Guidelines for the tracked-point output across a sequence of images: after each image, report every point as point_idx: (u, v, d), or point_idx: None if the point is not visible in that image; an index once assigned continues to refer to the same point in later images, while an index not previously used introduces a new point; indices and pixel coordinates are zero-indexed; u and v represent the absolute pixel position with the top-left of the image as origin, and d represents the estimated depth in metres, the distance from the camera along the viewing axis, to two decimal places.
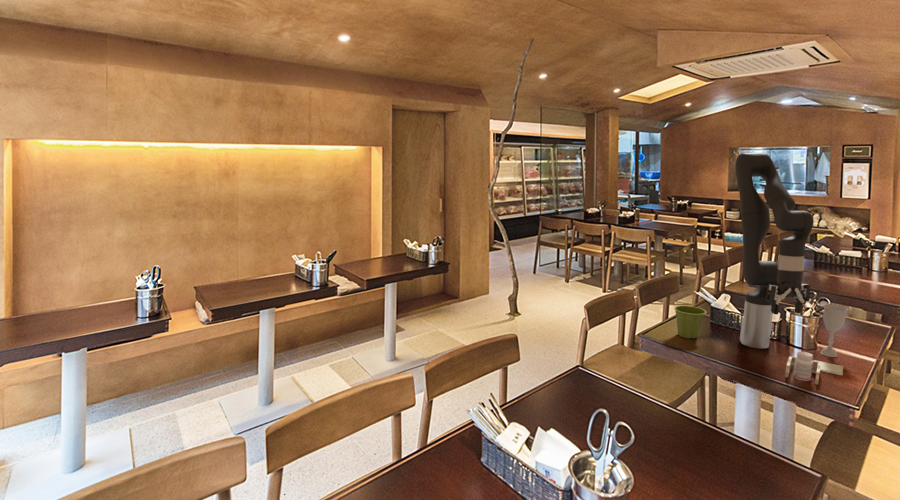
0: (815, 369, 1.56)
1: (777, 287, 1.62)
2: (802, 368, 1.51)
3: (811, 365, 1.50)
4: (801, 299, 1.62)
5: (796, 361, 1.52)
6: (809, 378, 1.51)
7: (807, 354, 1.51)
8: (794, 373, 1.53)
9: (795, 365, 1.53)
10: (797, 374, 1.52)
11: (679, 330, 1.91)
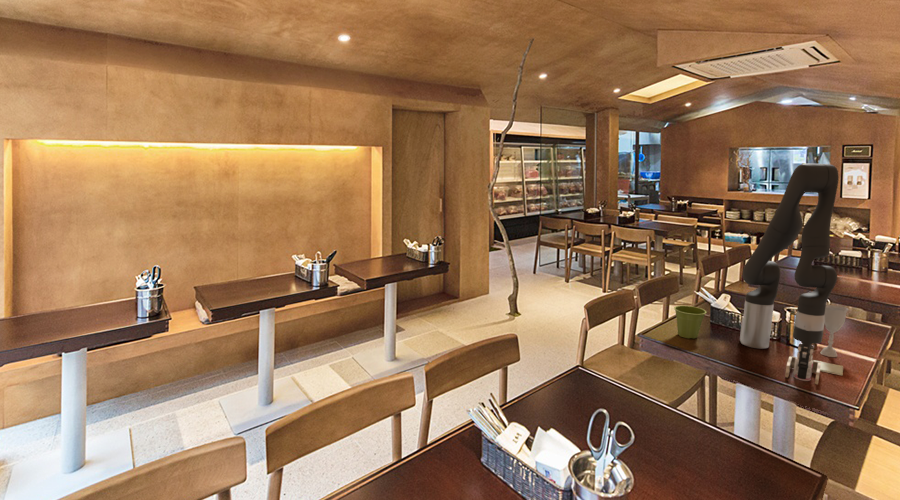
0: (815, 369, 1.56)
1: (806, 351, 1.48)
2: None
3: (811, 365, 1.50)
4: None
5: (796, 361, 1.52)
6: (809, 378, 1.51)
7: None
8: (794, 373, 1.53)
9: (795, 365, 1.53)
10: (797, 374, 1.52)
11: (679, 330, 1.91)
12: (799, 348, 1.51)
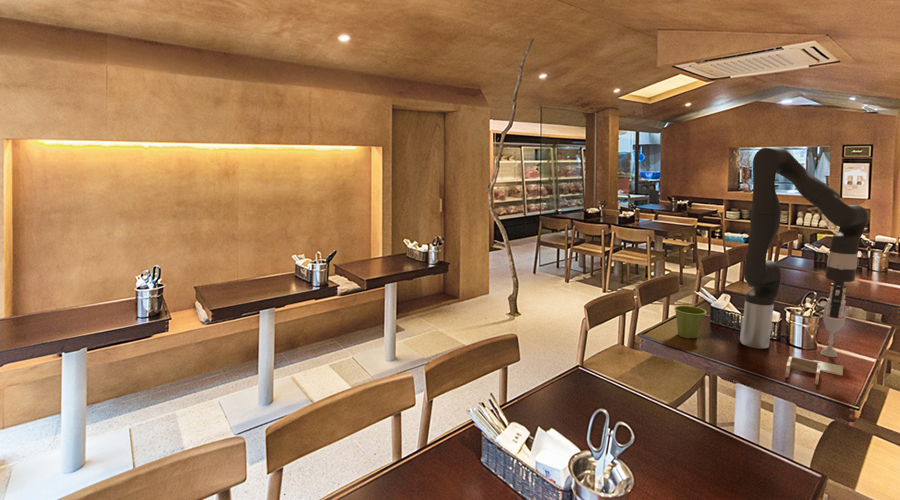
0: (815, 369, 1.56)
1: (839, 289, 1.51)
2: None
3: (844, 304, 1.53)
4: None
5: (829, 301, 1.56)
6: (841, 317, 1.54)
7: None
8: (826, 313, 1.57)
9: (827, 305, 1.56)
10: None
11: (679, 330, 1.91)
12: (832, 288, 1.54)
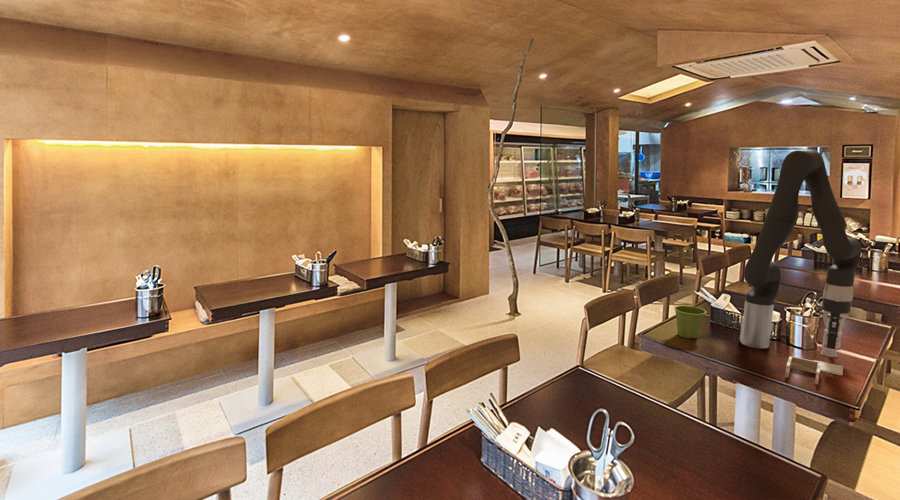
0: (815, 369, 1.56)
1: (836, 321, 1.53)
2: None
3: (840, 335, 1.55)
4: None
5: (825, 332, 1.58)
6: (838, 348, 1.56)
7: None
8: (823, 344, 1.59)
9: (824, 336, 1.58)
10: None
11: (679, 330, 1.91)
12: (828, 319, 1.56)
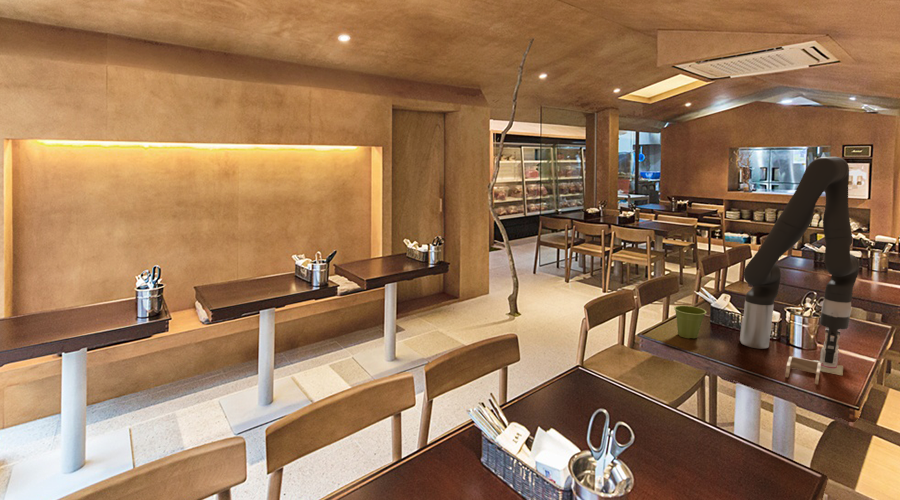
0: (815, 369, 1.56)
1: (834, 335, 1.54)
2: None
3: (837, 354, 1.57)
4: None
5: (823, 350, 1.59)
6: (835, 367, 1.58)
7: None
8: None
9: (821, 354, 1.60)
10: (824, 363, 1.59)
11: (679, 330, 1.91)
12: (826, 333, 1.57)
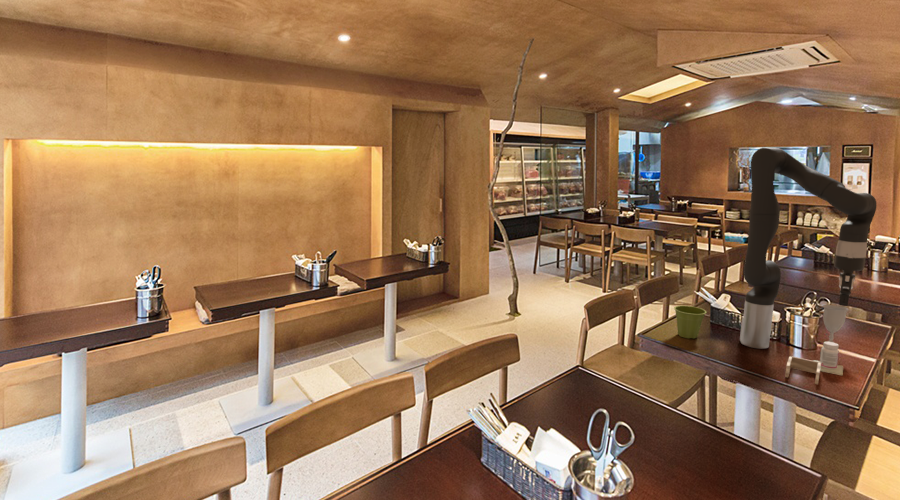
0: (815, 369, 1.56)
1: None
2: (828, 357, 1.58)
3: (837, 354, 1.57)
4: None
5: (822, 350, 1.59)
6: (835, 366, 1.58)
7: (833, 344, 1.58)
8: None
9: (821, 354, 1.60)
10: (824, 363, 1.59)
11: (679, 330, 1.91)
12: (841, 276, 1.53)
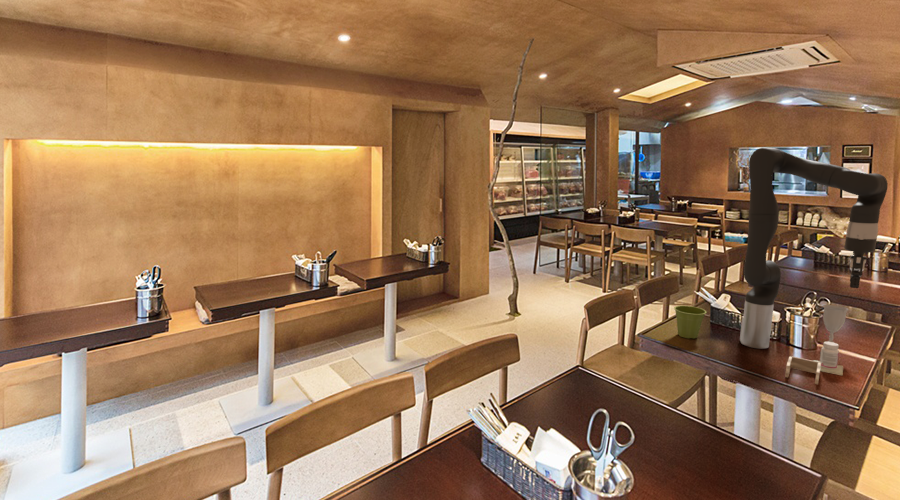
0: (815, 369, 1.56)
1: None
2: (828, 357, 1.58)
3: (837, 354, 1.57)
4: None
5: (822, 350, 1.59)
6: (835, 366, 1.58)
7: (833, 344, 1.58)
8: None
9: (821, 354, 1.60)
10: (824, 363, 1.59)
11: (679, 330, 1.91)
12: (851, 258, 1.51)
